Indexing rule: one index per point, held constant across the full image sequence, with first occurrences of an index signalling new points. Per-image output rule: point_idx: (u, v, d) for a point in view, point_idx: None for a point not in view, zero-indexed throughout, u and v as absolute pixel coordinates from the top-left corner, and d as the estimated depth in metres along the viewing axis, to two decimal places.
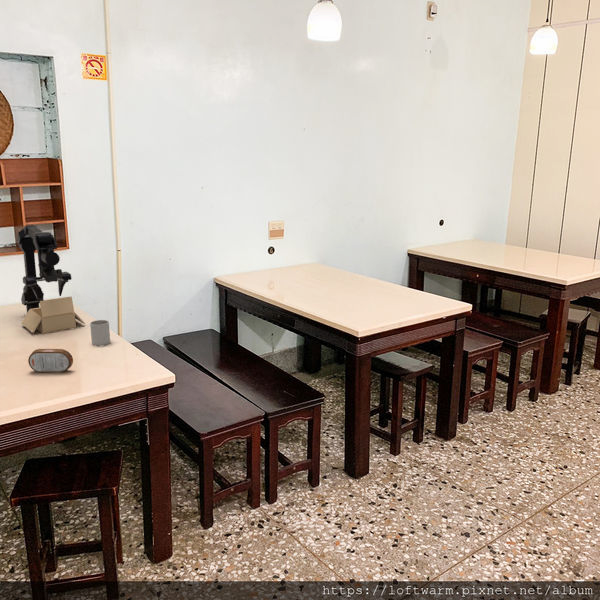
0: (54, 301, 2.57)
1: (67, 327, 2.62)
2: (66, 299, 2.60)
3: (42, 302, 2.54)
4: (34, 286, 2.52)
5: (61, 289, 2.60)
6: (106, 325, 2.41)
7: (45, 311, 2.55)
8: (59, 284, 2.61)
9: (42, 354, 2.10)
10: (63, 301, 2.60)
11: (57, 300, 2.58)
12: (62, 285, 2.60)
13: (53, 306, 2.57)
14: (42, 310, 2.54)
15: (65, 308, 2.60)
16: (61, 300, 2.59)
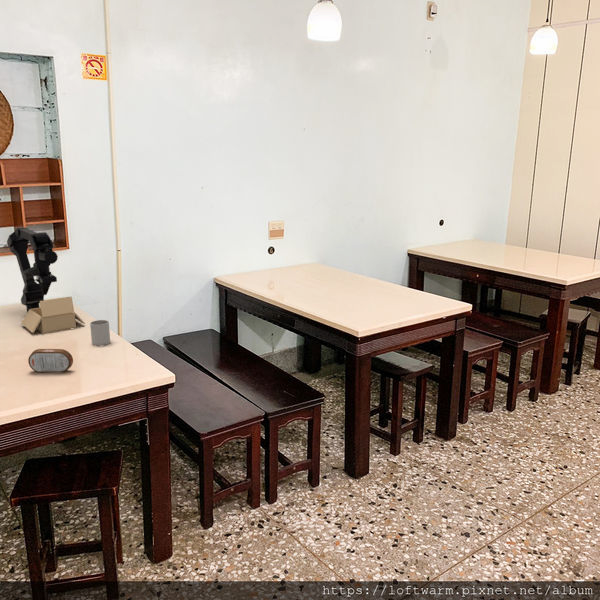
0: (54, 301, 2.57)
1: (67, 327, 2.62)
2: (66, 299, 2.60)
3: (42, 302, 2.54)
4: (37, 281, 2.68)
5: (42, 288, 2.68)
6: (106, 325, 2.41)
7: (45, 311, 2.55)
8: None
9: (42, 354, 2.10)
10: (63, 301, 2.60)
11: (57, 300, 2.58)
12: (41, 285, 2.67)
13: (53, 306, 2.57)
14: (42, 310, 2.54)
15: (65, 308, 2.60)
16: (61, 300, 2.59)
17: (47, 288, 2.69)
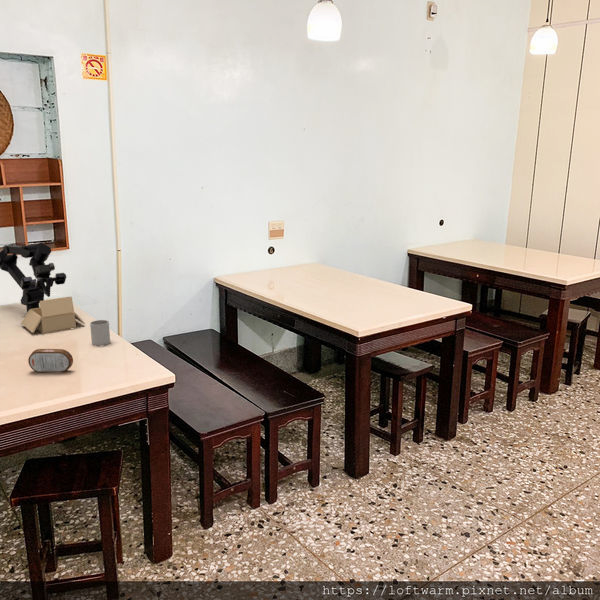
0: (54, 301, 2.57)
1: (67, 327, 2.62)
2: (66, 299, 2.60)
3: (42, 302, 2.54)
4: (41, 282, 2.65)
5: (49, 288, 2.66)
6: (106, 325, 2.41)
7: (45, 311, 2.55)
8: (46, 287, 2.68)
9: (42, 354, 2.10)
10: (63, 301, 2.60)
11: (57, 300, 2.58)
12: (49, 284, 2.67)
13: (53, 306, 2.57)
14: (42, 310, 2.54)
15: (65, 308, 2.60)
16: (61, 300, 2.59)
17: None
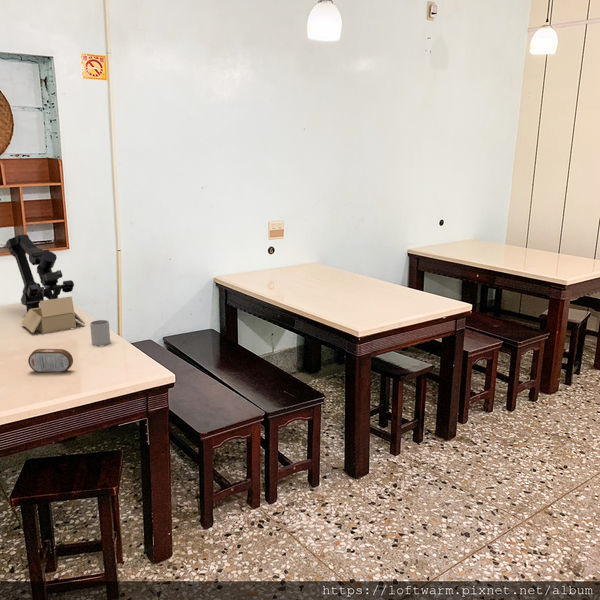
0: (54, 301, 2.57)
1: (67, 327, 2.62)
2: (66, 299, 2.60)
3: (42, 302, 2.54)
4: (49, 290, 2.58)
5: (56, 296, 2.59)
6: (106, 325, 2.41)
7: (45, 311, 2.55)
8: (54, 295, 2.61)
9: (42, 354, 2.10)
10: (63, 301, 2.60)
11: (57, 300, 2.58)
12: (56, 292, 2.60)
13: (53, 306, 2.57)
14: (42, 310, 2.54)
15: (65, 308, 2.60)
16: (61, 300, 2.59)
17: None
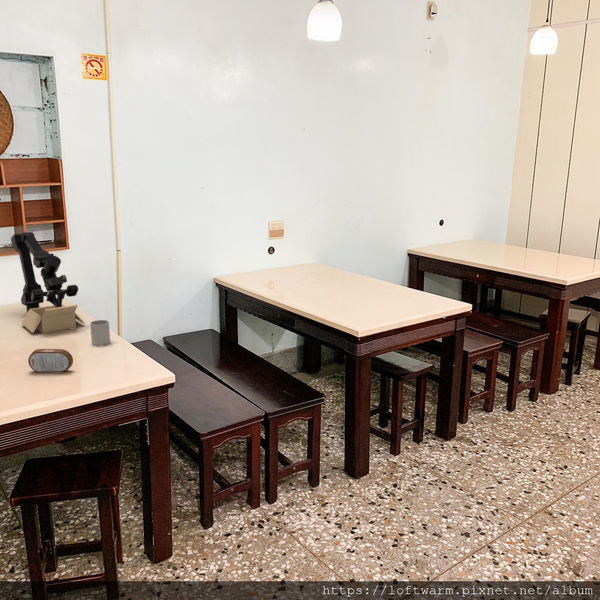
0: (59, 309, 2.53)
1: (67, 327, 2.62)
2: (71, 307, 2.56)
3: (47, 310, 2.50)
4: (53, 295, 2.54)
5: (60, 302, 2.56)
6: (106, 325, 2.41)
7: (47, 314, 2.54)
8: (58, 300, 2.57)
9: (42, 354, 2.10)
10: (67, 308, 2.56)
11: (62, 308, 2.54)
12: (60, 297, 2.56)
13: (56, 312, 2.55)
14: (44, 314, 2.52)
15: (67, 311, 2.59)
16: (66, 308, 2.55)
17: None
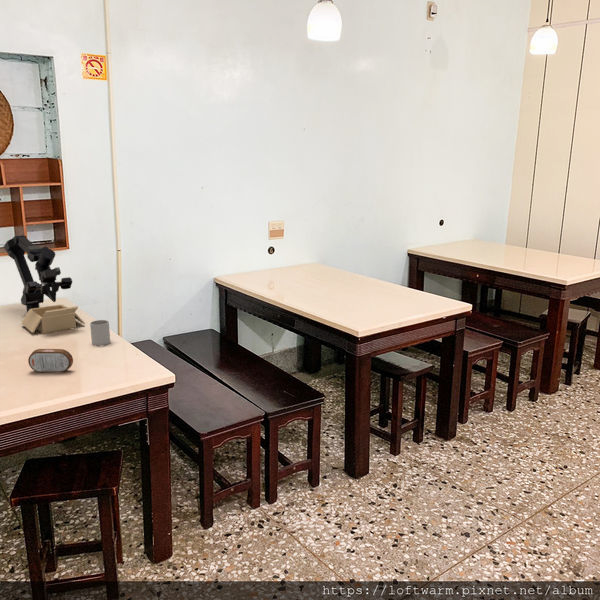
0: (59, 311, 2.53)
1: (67, 327, 2.62)
2: (72, 309, 2.56)
3: (48, 312, 2.50)
4: (47, 287, 2.59)
5: (54, 293, 2.60)
6: (106, 325, 2.41)
7: (48, 315, 2.53)
8: (52, 292, 2.62)
9: (42, 354, 2.10)
10: (68, 310, 2.56)
11: (63, 310, 2.54)
12: (54, 289, 2.61)
13: (56, 312, 2.54)
14: (45, 315, 2.52)
15: (67, 312, 2.59)
16: (66, 309, 2.55)
17: None
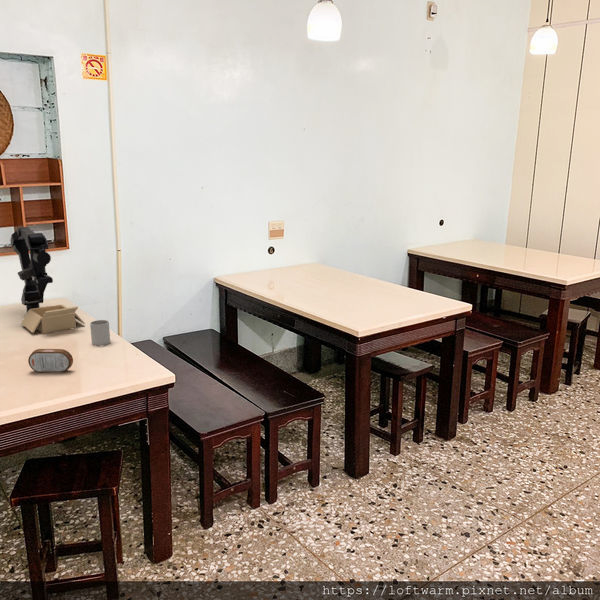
0: (59, 311, 2.53)
1: (67, 327, 2.62)
2: (72, 309, 2.56)
3: (48, 312, 2.50)
4: (33, 282, 2.66)
5: (38, 289, 2.66)
6: (106, 325, 2.41)
7: (48, 315, 2.53)
8: None
9: (42, 354, 2.10)
10: (68, 310, 2.56)
11: (63, 310, 2.54)
12: (37, 286, 2.65)
13: (56, 313, 2.54)
14: (45, 315, 2.52)
15: (67, 312, 2.59)
16: (66, 310, 2.55)
17: (43, 289, 2.67)
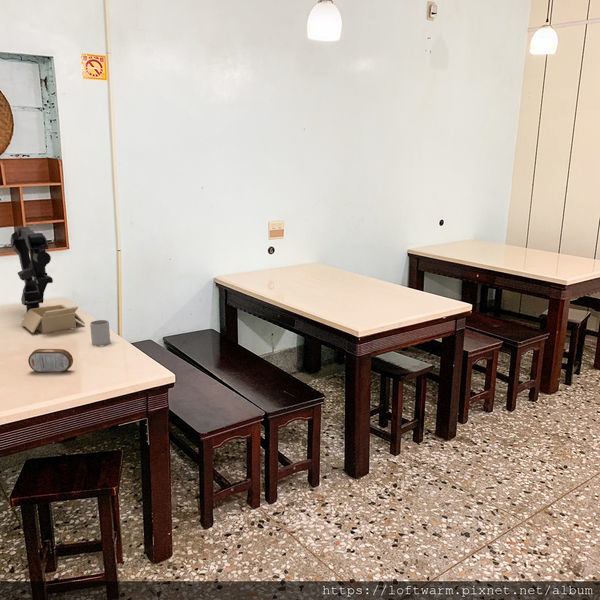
0: (59, 311, 2.53)
1: (67, 327, 2.62)
2: (72, 309, 2.56)
3: (48, 312, 2.50)
4: (33, 282, 2.66)
5: (38, 289, 2.66)
6: (106, 325, 2.41)
7: (48, 315, 2.53)
8: None
9: (42, 354, 2.10)
10: (68, 310, 2.56)
11: (63, 310, 2.54)
12: (37, 286, 2.65)
13: (56, 313, 2.54)
14: (45, 315, 2.52)
15: (67, 312, 2.59)
16: (66, 310, 2.55)
17: (43, 289, 2.67)
